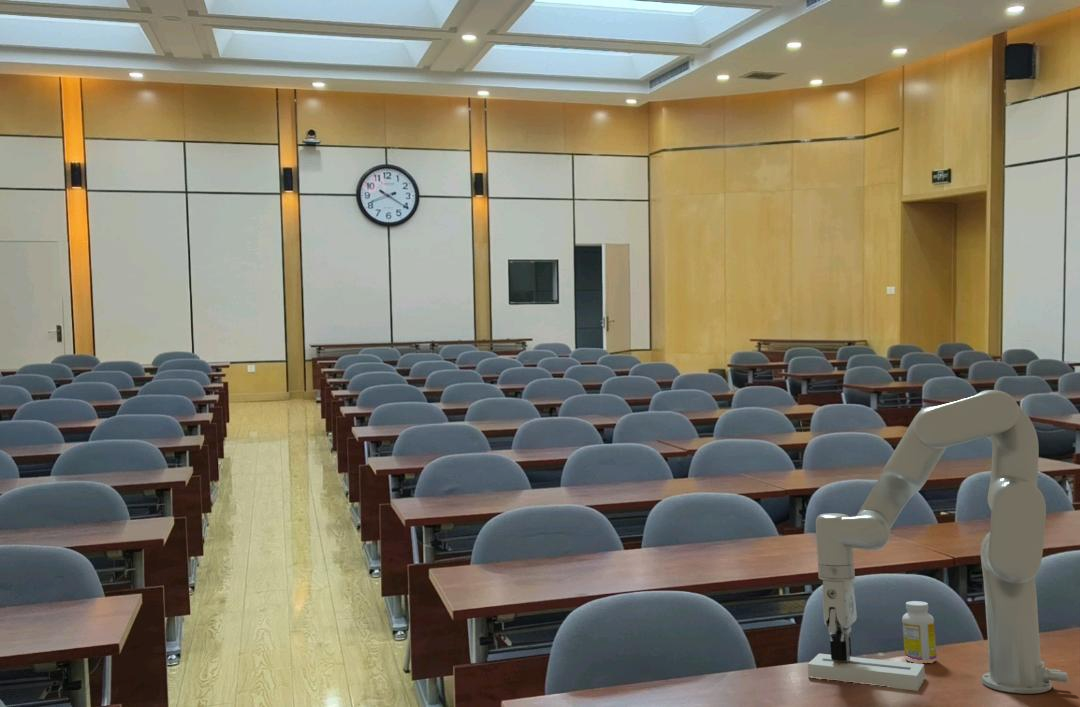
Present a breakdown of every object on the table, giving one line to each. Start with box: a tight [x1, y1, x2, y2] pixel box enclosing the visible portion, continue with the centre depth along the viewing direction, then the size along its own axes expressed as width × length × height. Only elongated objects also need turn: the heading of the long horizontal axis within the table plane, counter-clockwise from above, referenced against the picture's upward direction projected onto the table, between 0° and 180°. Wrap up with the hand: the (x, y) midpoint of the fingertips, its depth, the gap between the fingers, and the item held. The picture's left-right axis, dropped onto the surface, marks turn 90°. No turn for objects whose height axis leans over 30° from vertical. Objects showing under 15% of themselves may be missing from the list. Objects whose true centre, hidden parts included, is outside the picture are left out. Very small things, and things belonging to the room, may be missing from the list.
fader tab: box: [827, 625, 852, 663], centre depth 200 cm, size 4×4×7 cm
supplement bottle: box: [901, 600, 938, 661], centre depth 209 cm, size 7×7×13 cm
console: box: [807, 653, 926, 692], centre depth 197 cm, size 22×9×3 cm, turn 59°
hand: (841, 656), depth 200 cm, fingers closed on fader tab, 3 cm apart
